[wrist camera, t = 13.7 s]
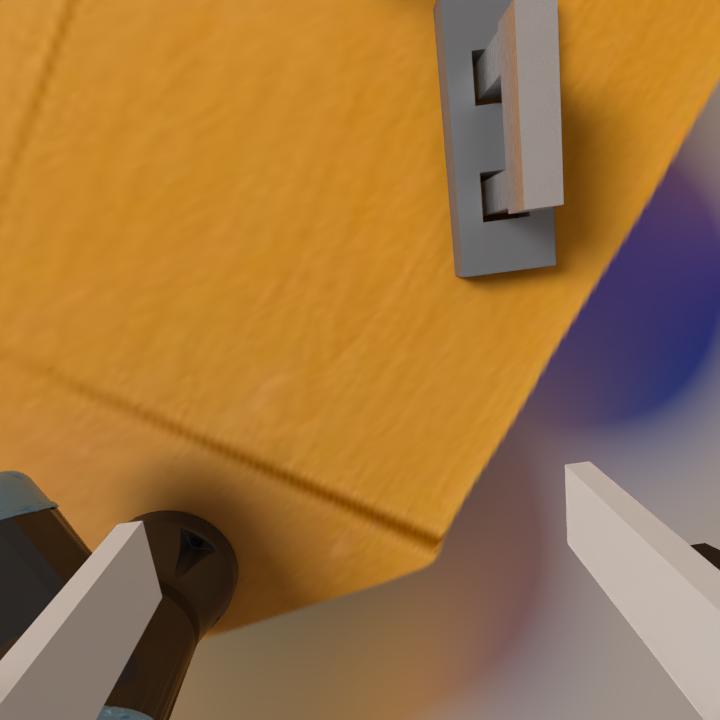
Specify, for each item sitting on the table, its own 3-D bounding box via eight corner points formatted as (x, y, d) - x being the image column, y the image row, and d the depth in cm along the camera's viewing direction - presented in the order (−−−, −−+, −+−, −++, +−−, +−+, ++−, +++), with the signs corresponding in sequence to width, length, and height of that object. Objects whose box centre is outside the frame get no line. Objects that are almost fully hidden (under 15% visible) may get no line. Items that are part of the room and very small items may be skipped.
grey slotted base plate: (455, 276, 47) (462, 277, 44) (433, 9, 42) (440, -10, 39) (543, 264, 47) (556, 265, 44) (531, -4, 42) (545, -24, 39)
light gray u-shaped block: (480, 221, 46) (524, 209, 35) (470, 66, 43) (514, -2, 32) (510, 217, 46) (563, 204, 35) (502, 61, 43) (557, -8, 32)
